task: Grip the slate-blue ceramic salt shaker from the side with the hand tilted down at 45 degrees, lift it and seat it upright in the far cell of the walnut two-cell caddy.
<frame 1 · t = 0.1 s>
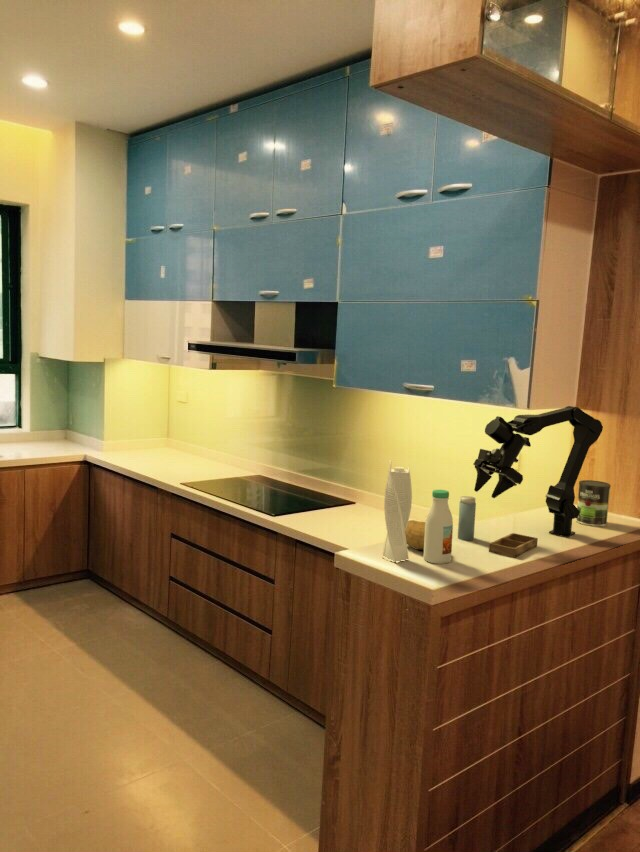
hand: (483, 494, 221), 15 cm above the worktop, tool tilted 35°, fingers open, 9 cm apart
salt shaker: (465, 538, 226), on the worktop
caddy: (513, 549, 216), on the worktop
potato: (418, 548, 214), on the worktop
milk bottle: (437, 560, 203), on the worktop
skyscraper: (394, 560, 202), on the worktop
coffee can: (591, 523, 250), on the worktop
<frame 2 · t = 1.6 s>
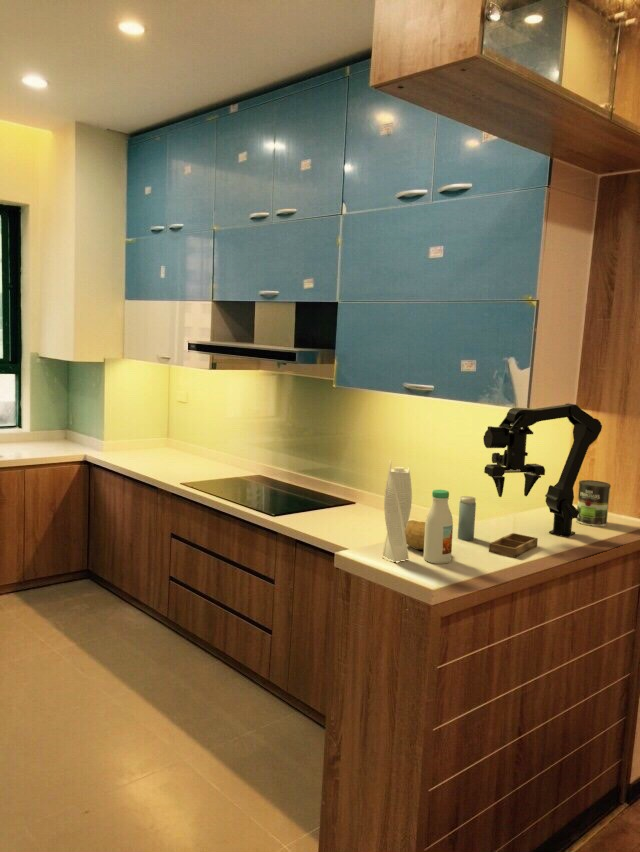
hand: (512, 496, 228), 13 cm above the worktop, tool pointing down, fingers open, 9 cm apart
nothing on the worktop moved.
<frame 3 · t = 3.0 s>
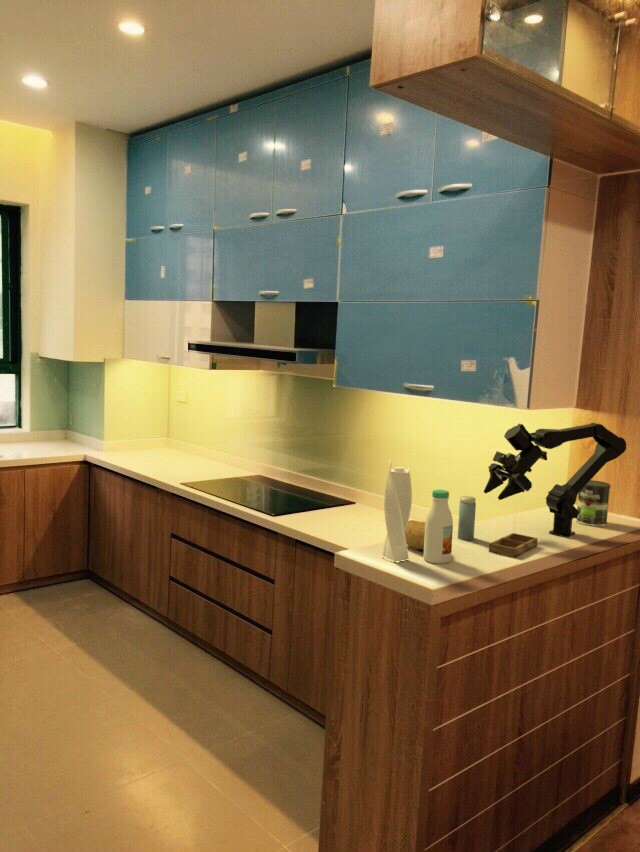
hand: (491, 495, 226), 13 cm above the worktop, tool tilted 45°, fingers open, 9 cm apart
nothing on the worktop moved.
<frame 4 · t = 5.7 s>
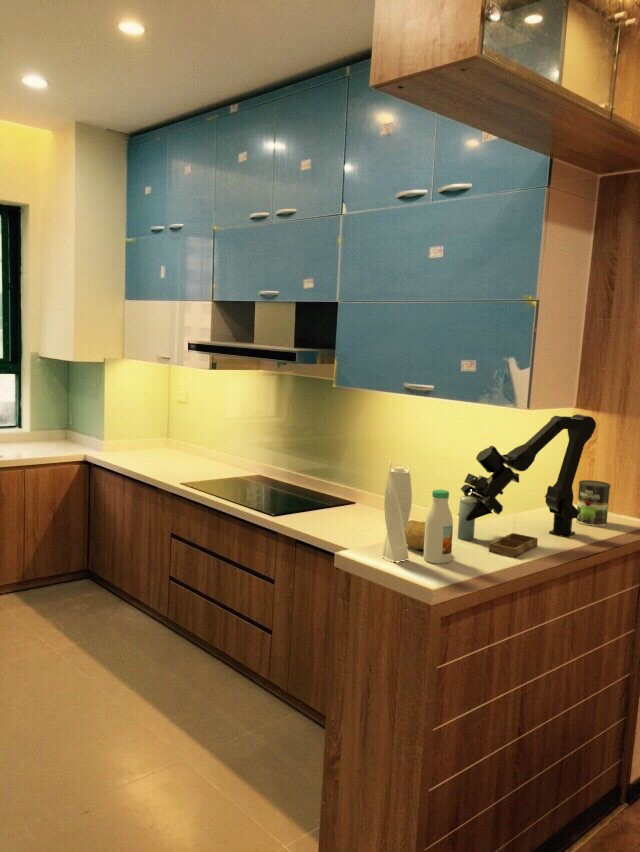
hand: (462, 518, 225), 7 cm above the worktop, tool tilted 45°, fingers closed on salt shaker, 5 cm apart
salt shaker: (465, 538, 226), on the worktop, touching gripper
everything else where it was.
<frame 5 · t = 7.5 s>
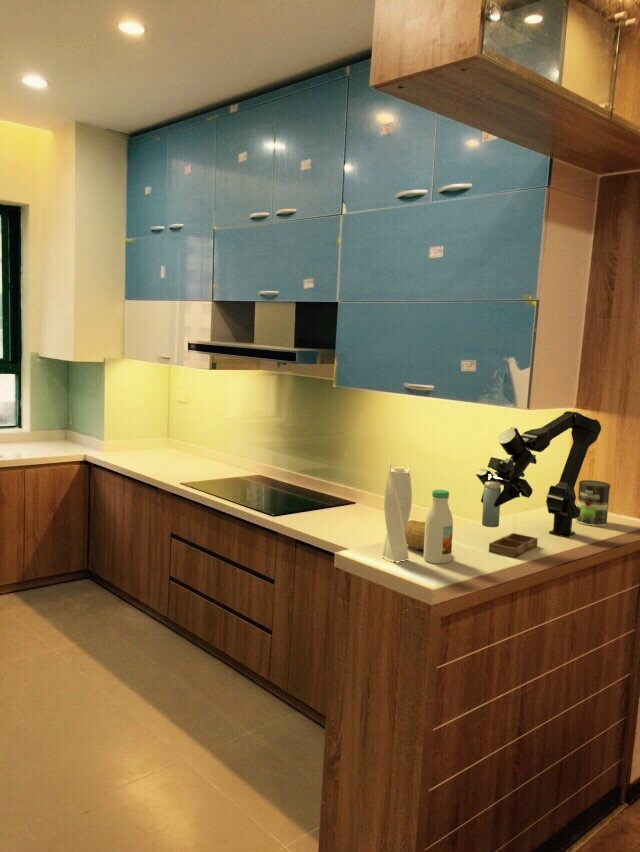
hand: (488, 504, 215), 13 cm above the worktop, tool tilted 45°, fingers closed on salt shaker, 5 cm apart
salt shaker: (490, 525, 216), point 7 cm above the worktop, touching gripper
everything else where it was.
when the fingers open (8 cm above the worktop, at t = 9.7 s): salt shaker stays where it is, resting on caddy.
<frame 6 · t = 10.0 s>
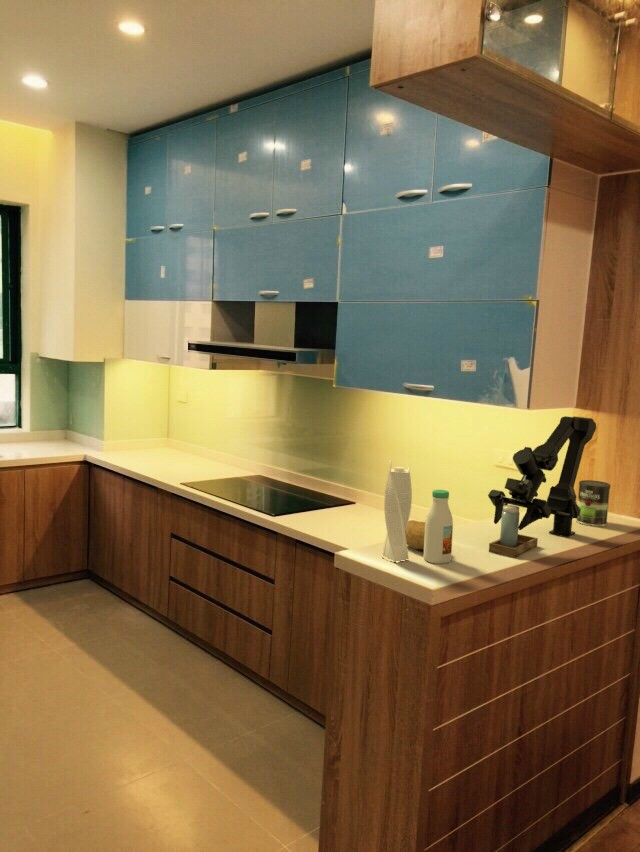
hand: (506, 526, 211), 8 cm above the worktop, tool tilted 45°, fingers open, 8 cm apart
salt shaker: (507, 549, 213), point 1 cm above the worktop, touching caddy
everything else where it was.
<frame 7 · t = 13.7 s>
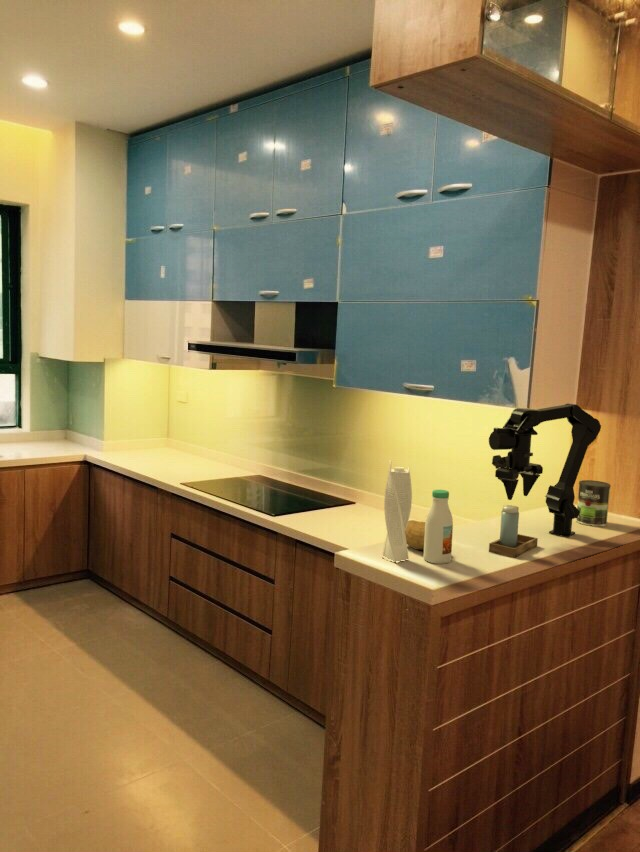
hand: (517, 497, 226), 13 cm above the worktop, tool pointing down, fingers open, 9 cm apart
nothing on the worktop moved.
at the end: salt shaker 0.0 cm from the target spot on the caddy, point 0.6 cm above the caddy's base; salt shaker tilted 0°; the gripper is holding nothing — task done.
